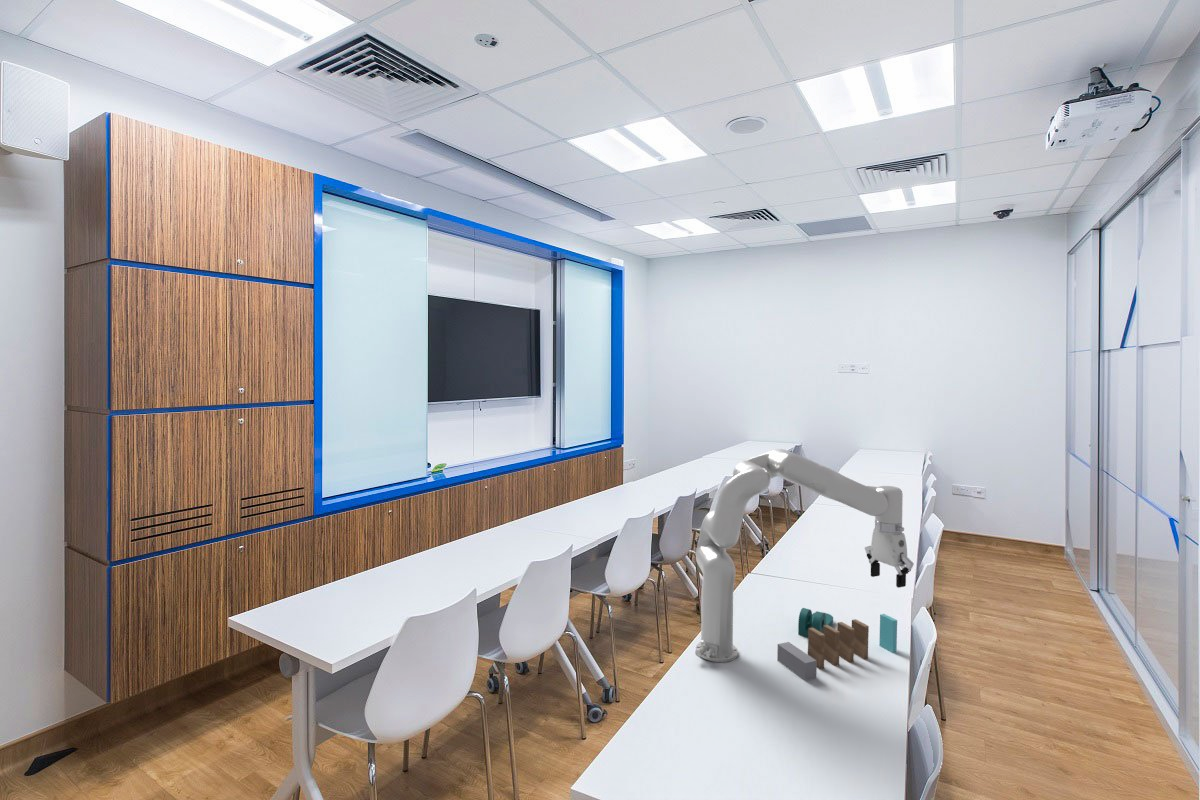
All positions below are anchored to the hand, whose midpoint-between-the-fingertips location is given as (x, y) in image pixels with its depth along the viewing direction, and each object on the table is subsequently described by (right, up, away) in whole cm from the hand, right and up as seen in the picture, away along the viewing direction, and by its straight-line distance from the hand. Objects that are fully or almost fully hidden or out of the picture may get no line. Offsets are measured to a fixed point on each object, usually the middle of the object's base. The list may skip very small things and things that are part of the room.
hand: (887, 581), depth 178 cm
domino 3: (-15, -22, -5) cm, 27 cm away
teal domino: (0, -21, +1) cm, 21 cm away
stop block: (-32, -22, -11) cm, 41 cm away
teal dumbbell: (-16, -21, +16) cm, 31 cm away
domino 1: (-26, -22, -9) cm, 35 cm away
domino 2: (-21, -22, -7) cm, 31 cm away
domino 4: (-10, -22, -3) cm, 24 cm away
